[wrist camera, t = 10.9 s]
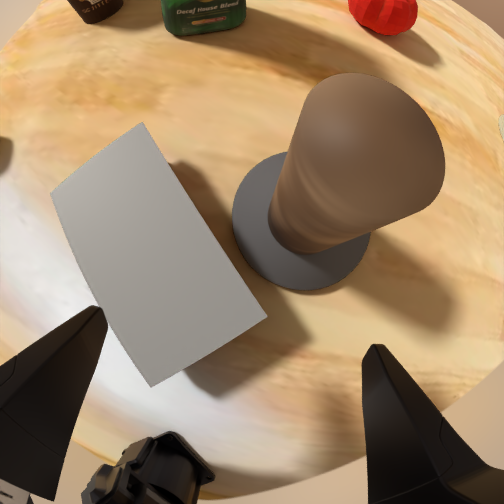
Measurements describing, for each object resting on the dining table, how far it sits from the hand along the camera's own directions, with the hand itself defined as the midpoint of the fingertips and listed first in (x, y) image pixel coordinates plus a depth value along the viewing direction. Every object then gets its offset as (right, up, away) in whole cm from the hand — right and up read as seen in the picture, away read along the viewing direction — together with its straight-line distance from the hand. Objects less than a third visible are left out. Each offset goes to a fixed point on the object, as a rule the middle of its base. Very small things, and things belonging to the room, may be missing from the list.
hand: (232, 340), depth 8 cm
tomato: (+17, +34, +17) cm, 41 cm away
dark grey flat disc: (+5, +5, +13) cm, 15 cm away
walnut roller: (+5, +5, +13) cm, 14 cm away
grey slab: (-7, +3, +13) cm, 15 cm away
